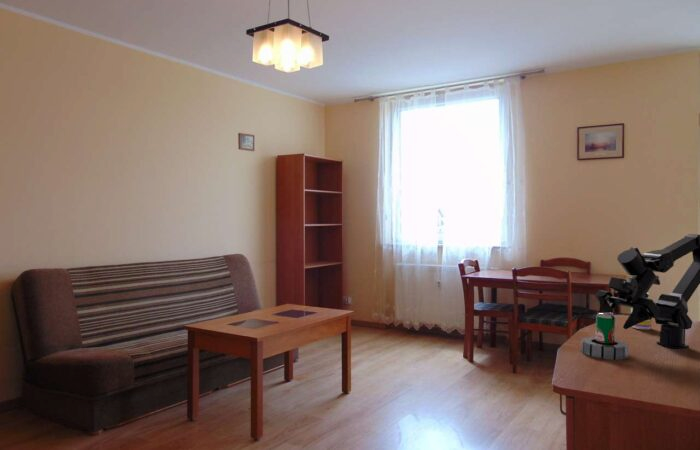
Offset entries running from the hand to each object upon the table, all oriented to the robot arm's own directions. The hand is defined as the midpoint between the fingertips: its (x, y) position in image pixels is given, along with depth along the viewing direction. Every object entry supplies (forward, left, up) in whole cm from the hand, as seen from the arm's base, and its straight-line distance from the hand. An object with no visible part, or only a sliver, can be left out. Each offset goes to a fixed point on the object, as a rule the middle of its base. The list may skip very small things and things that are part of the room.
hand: (610, 324), depth 154 cm
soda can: (+2, 0, -9) cm, 9 cm away
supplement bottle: (-36, -26, -9) cm, 45 cm away
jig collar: (+2, 0, -8) cm, 9 cm away
